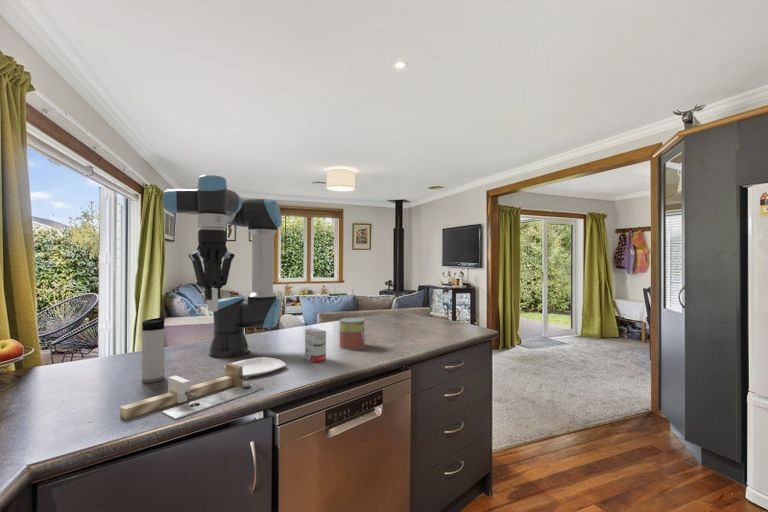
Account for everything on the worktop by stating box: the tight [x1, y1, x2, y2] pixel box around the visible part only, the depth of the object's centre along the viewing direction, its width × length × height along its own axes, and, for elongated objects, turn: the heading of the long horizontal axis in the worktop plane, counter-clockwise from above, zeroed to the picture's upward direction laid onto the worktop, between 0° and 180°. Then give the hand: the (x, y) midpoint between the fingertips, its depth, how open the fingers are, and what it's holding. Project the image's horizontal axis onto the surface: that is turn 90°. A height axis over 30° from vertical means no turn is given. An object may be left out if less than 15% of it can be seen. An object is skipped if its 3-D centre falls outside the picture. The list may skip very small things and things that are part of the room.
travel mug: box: [141, 316, 165, 384], centre depth 120 cm, size 6×7×20 cm
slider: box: [167, 374, 196, 404], centre depth 101 cm, size 2×12×6 cm, turn 55°
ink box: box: [304, 327, 327, 364], centre depth 143 cm, size 8×5×12 cm, turn 39°
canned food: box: [339, 317, 365, 351], centre depth 164 cm, size 11×11×12 cm
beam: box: [119, 362, 249, 420], centre depth 103 cm, size 32×10×6 cm, turn 145°
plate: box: [223, 356, 287, 378], centre depth 131 cm, size 19×19×2 cm
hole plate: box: [161, 382, 265, 420], centre depth 103 cm, size 7×26×1 cm, turn 145°
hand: (212, 310), depth 106 cm, fingers closed
